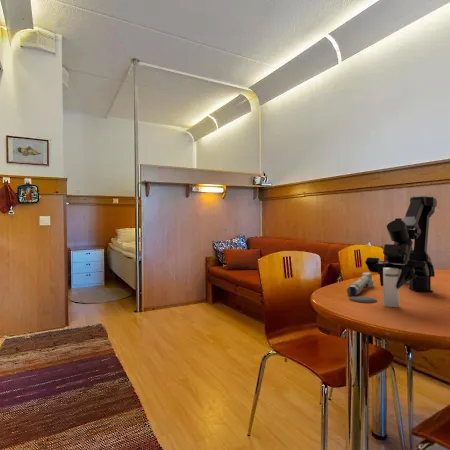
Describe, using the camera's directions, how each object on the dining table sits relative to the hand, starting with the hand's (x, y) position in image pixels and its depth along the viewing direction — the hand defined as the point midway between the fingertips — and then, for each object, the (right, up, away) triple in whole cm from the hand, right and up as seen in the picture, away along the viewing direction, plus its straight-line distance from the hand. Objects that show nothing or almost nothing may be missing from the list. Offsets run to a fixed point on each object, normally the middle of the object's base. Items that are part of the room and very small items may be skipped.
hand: (389, 286), depth 102 cm
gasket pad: (-5, -7, +9) cm, 12 cm away
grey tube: (+2, -7, +25) cm, 26 cm away
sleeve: (+1, -7, +1) cm, 7 cm away
